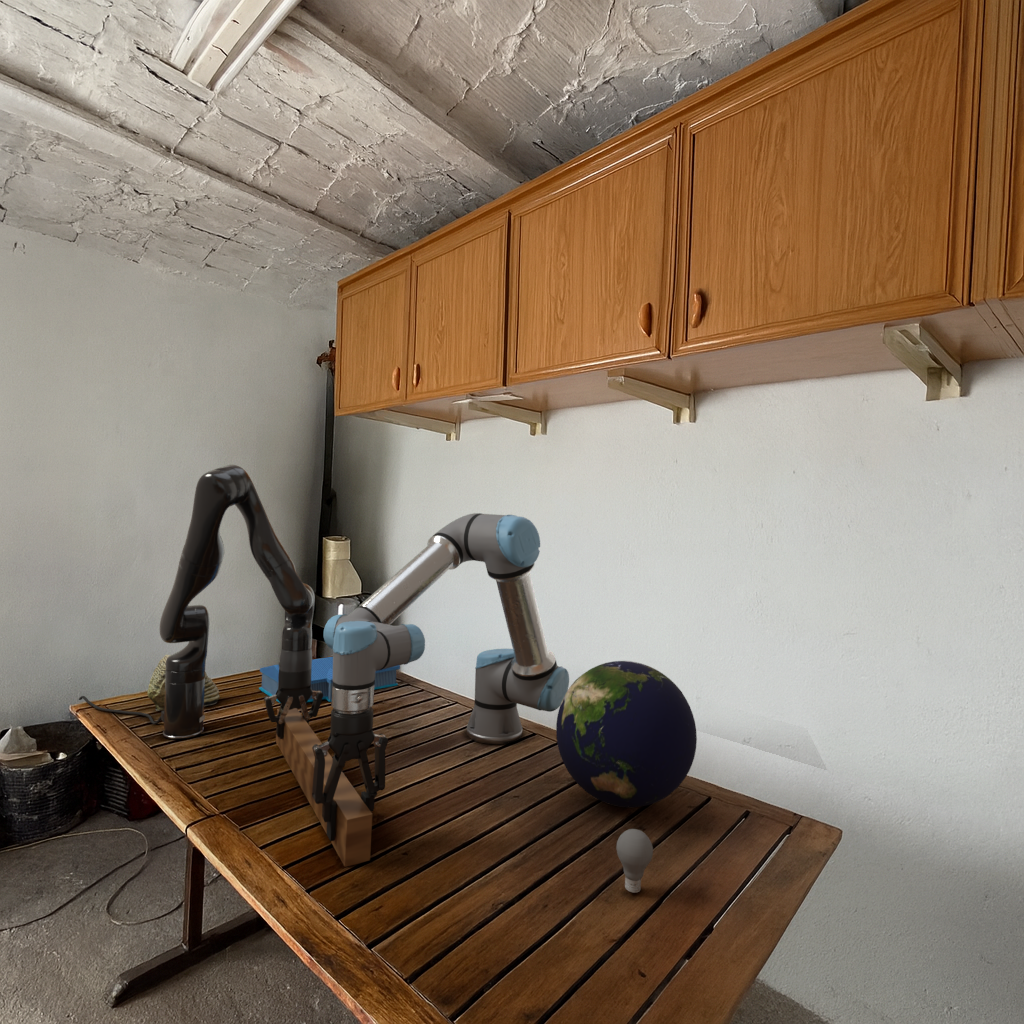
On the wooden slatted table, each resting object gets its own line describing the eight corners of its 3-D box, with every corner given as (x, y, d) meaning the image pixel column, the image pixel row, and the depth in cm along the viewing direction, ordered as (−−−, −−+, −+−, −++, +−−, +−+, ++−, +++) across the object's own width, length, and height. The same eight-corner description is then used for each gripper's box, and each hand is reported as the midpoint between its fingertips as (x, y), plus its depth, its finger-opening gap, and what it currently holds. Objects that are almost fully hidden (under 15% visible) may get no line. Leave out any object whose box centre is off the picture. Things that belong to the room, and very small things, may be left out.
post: (275, 741, 159) (277, 708, 159) (294, 738, 161) (295, 706, 161) (344, 867, 109) (347, 819, 109) (370, 860, 111) (372, 813, 111)
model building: (289, 709, 186) (291, 675, 185) (258, 688, 204) (259, 657, 204) (403, 687, 212) (405, 657, 212) (366, 670, 230) (368, 643, 230)
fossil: (144, 707, 182) (145, 655, 182) (212, 696, 194) (213, 647, 194) (151, 716, 175) (153, 662, 175) (221, 703, 188) (223, 653, 188)
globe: (533, 814, 130) (540, 669, 129) (575, 761, 157) (580, 641, 157) (683, 851, 118) (691, 691, 118) (699, 786, 146) (706, 657, 146)
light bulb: (610, 879, 108) (613, 822, 108) (644, 879, 109) (647, 822, 109) (619, 902, 102) (622, 840, 102) (655, 901, 103) (658, 840, 103)
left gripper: (267, 673, 146) (264, 746, 147) (329, 667, 154) (326, 737, 154) (261, 665, 153) (258, 735, 153) (321, 660, 160) (318, 726, 161)
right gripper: (305, 721, 108) (300, 856, 108) (408, 707, 117) (402, 830, 118) (295, 708, 114) (290, 835, 114) (393, 695, 124) (388, 812, 124)
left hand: (292, 735), depth 154 cm, fingers closed on post, 4 cm apart
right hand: (347, 832), depth 116 cm, fingers open, 5 cm apart
